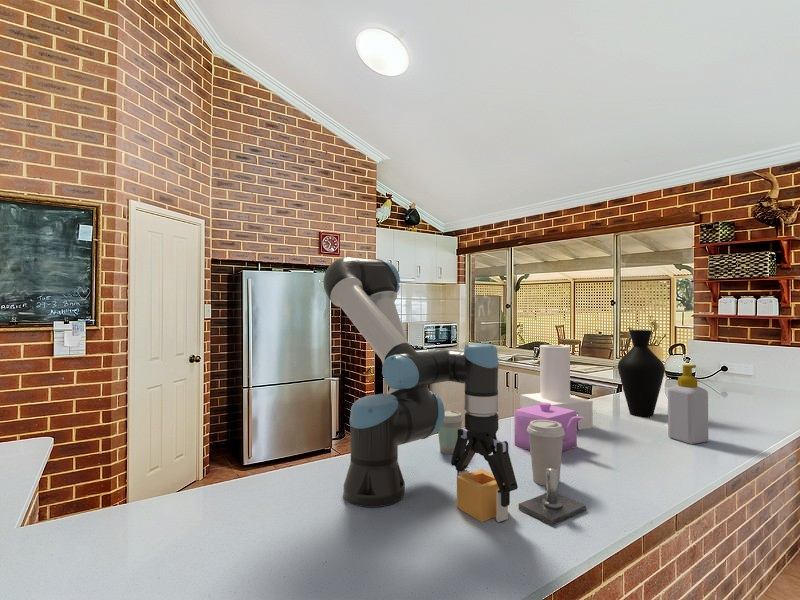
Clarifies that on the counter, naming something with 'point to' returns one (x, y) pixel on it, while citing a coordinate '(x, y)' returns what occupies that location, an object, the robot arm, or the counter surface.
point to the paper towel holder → (558, 385)
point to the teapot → (546, 413)
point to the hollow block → (477, 494)
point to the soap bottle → (688, 409)
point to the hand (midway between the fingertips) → (482, 508)
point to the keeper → (552, 503)
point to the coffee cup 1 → (449, 431)
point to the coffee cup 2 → (545, 448)
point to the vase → (641, 375)
